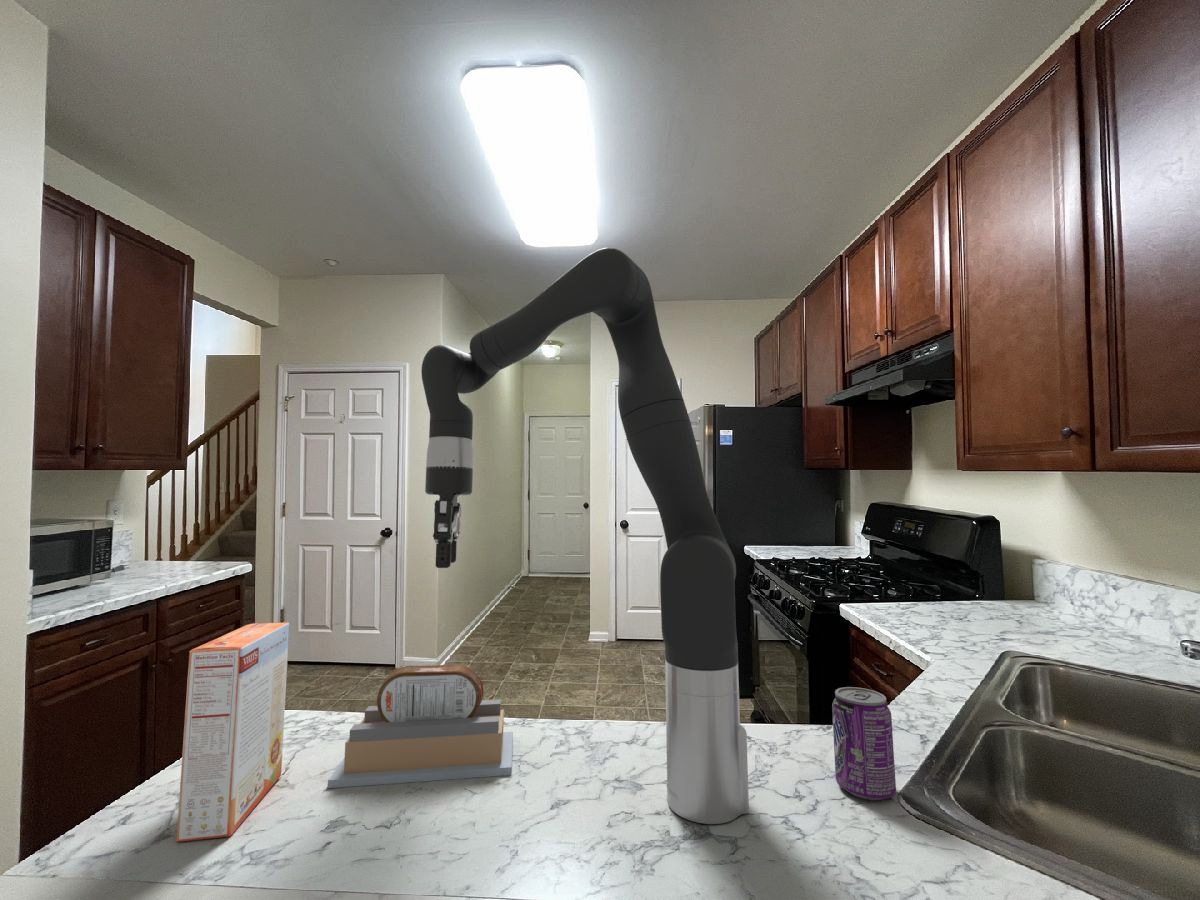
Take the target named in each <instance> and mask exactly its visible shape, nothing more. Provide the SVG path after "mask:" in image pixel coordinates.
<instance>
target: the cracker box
mask: <svg viewBox="0 0 1200 900" xmlns="http://www.w3.org/2000/svg"><path fill="white" fill-rule="evenodd" d="M289 631H290V622H260V623H259V622H258V623H249V624H245V625H243V626H241V627H239V628H237V629H235V630H231V631H230V632H227V633H225V634H223V635H222V636H220V637H218V638H215V639H212V640H210V641H208V642H206V643H204V644H202V645H199V646H197V647H195V648H192V649H191V650H189V654H188V670H187V681H186V682H187V683H186V699H185V711H184V727H183V739H182V740H183V742H182V743H183V744H182V754H181V755H182V756H181V769H180V770H181V771H180V783H179V799H178V811H177V812H178V813H177V814H178V815H177V825H176V826H177V827H176V842H177V843H181V842H191V841H200V840H209V839H218V838H227V837H231V836H232V835H234V832H235V831H236V830H237V829H238V828H239V827H240V825H241V824H242V823H243V822H244V821H245V820H246V819H247V817H248V816H249V815H250V813H251V812H252V811H253V809H255V808H256V806H257V805H258V804H259V803H260V801H261V800H262V799H263V798H264V797H265V795H267V794H268V792H269V791H270V789H271V788H272V787H273V786H274V785H275V783H277V781H278V780H279V779H280V778H281V777H282V766H283V748H284V729H285V728H284V727H285V726H284V725H285V712H286V711H285V708H286V691H287V676H288V675H287V674H288V670H287V669H288V654H289V652H288V651H289Z"/></svg>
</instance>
